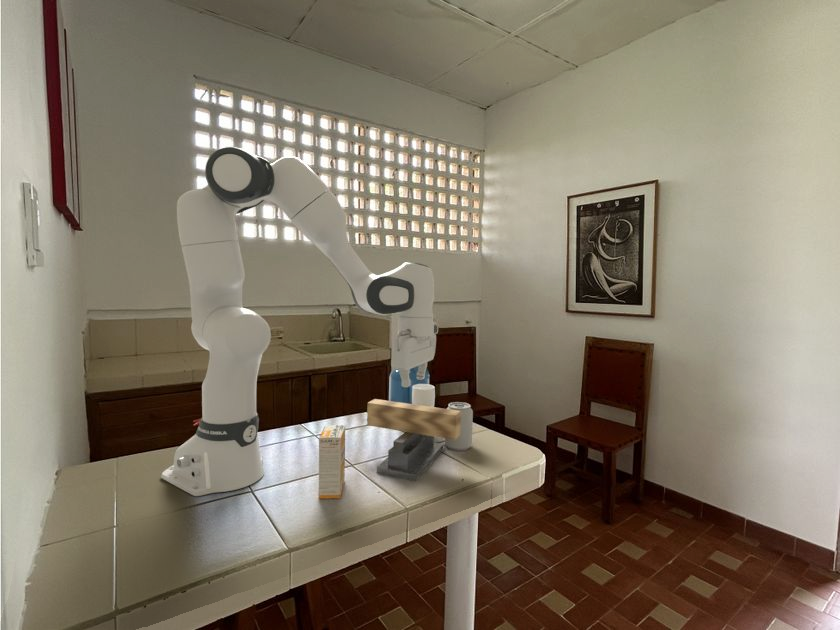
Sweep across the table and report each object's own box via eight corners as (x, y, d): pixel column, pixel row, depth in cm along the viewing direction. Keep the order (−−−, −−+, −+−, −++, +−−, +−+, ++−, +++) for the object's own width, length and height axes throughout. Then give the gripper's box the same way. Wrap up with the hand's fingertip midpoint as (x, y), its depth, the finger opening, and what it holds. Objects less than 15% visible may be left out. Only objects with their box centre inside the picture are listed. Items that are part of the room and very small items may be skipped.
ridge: (376, 472, 98) (377, 440, 98) (409, 443, 117) (410, 415, 116) (415, 481, 94) (416, 447, 94) (443, 449, 113) (444, 421, 112)
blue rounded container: (380, 420, 136) (382, 329, 134) (402, 410, 148) (403, 326, 145) (416, 428, 129) (418, 333, 127) (436, 417, 141) (438, 329, 139)
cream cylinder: (422, 430, 128) (424, 382, 126) (438, 436, 123) (439, 387, 121) (406, 435, 123) (407, 385, 122) (421, 442, 118) (423, 390, 117)
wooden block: (460, 434, 102) (460, 411, 102) (455, 440, 99) (456, 415, 98) (374, 420, 111) (374, 398, 111) (367, 425, 108) (367, 402, 107)
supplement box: (341, 499, 86) (341, 437, 85) (317, 499, 86) (318, 437, 85) (345, 480, 94) (346, 424, 93) (324, 480, 94) (324, 424, 93)
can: (471, 442, 119) (472, 401, 118) (472, 452, 111) (473, 409, 111) (445, 440, 120) (446, 400, 119) (444, 451, 112) (445, 407, 111)
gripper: (410, 332, 92) (408, 393, 93) (440, 326, 111) (438, 376, 112) (385, 330, 95) (383, 390, 96) (418, 324, 114) (417, 374, 115)
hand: (413, 382), depth 104 cm, fingers open, 8 cm apart
